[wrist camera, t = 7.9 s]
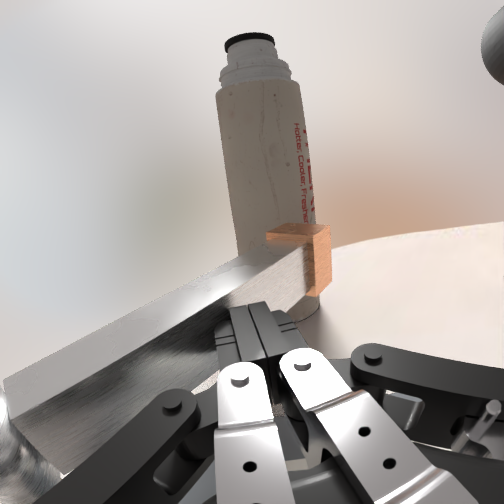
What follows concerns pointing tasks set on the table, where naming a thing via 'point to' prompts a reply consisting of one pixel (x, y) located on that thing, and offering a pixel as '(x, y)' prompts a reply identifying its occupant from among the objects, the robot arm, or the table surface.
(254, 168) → the thermos bottle
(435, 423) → the robot arm
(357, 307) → the table surface
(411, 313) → the table surface
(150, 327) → the swing arm
